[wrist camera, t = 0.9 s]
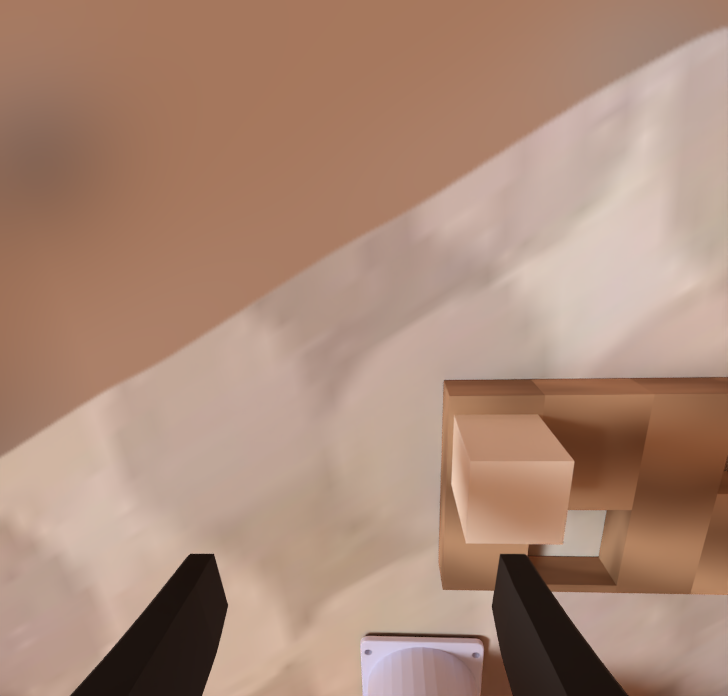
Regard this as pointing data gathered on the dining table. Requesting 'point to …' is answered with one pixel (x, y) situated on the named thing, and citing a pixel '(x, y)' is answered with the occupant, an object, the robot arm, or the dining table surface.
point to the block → (510, 479)
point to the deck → (612, 481)
